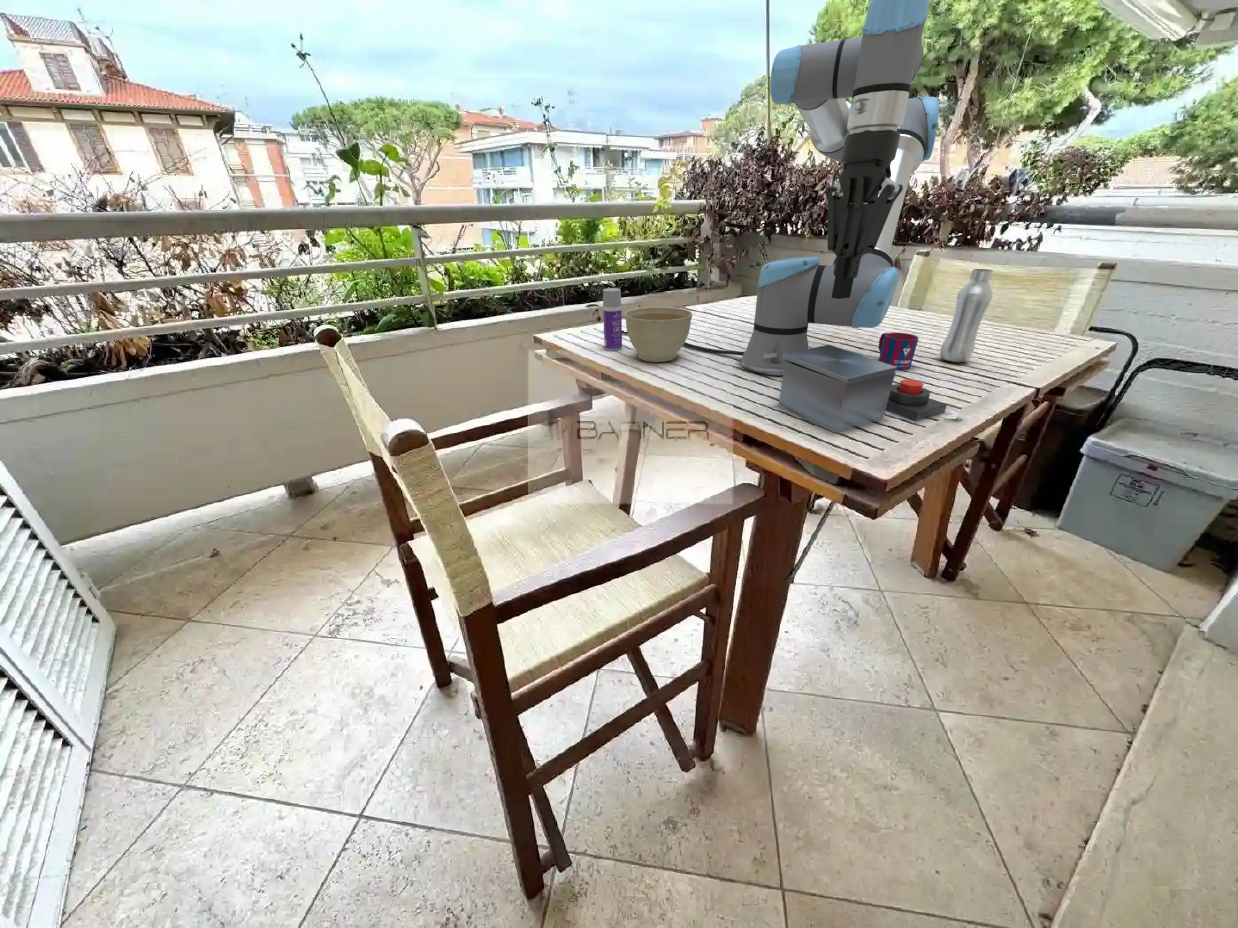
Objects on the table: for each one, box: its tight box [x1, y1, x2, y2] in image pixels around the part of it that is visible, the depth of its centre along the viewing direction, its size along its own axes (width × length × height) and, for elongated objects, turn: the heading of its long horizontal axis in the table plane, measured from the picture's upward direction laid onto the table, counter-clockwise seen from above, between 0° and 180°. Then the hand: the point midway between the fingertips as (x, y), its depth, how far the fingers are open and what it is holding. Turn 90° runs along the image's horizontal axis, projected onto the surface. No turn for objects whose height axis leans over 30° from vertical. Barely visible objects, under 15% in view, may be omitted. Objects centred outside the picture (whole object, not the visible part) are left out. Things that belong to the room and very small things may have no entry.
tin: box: [777, 361, 896, 434], centre depth 86 cm, size 14×12×9 cm
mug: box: [878, 332, 919, 371], centre depth 111 cm, size 7×10×7 cm
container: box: [602, 287, 623, 352], centre depth 125 cm, size 5×5×15 cm
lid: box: [782, 344, 897, 383], centre depth 84 cm, size 14×12×1 cm
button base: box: [885, 383, 948, 422], centre depth 89 cm, size 10×8×4 cm
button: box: [898, 378, 924, 394], centre depth 87 cm, size 4×4×2 cm
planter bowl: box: [624, 306, 693, 363], centre depth 118 cm, size 16×16×11 cm
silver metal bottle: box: [939, 268, 994, 363], centre depth 108 cm, size 6×7×20 cm
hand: (840, 297), depth 83 cm, fingers closed
